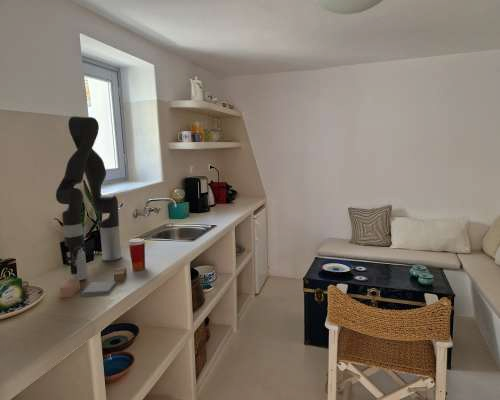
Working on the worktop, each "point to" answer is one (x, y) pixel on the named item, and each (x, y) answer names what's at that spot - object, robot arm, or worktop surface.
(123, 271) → the walnut brick
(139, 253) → the paper cup
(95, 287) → the slate slab
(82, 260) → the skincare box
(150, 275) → the worktop surface
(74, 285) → the terracotta brick
